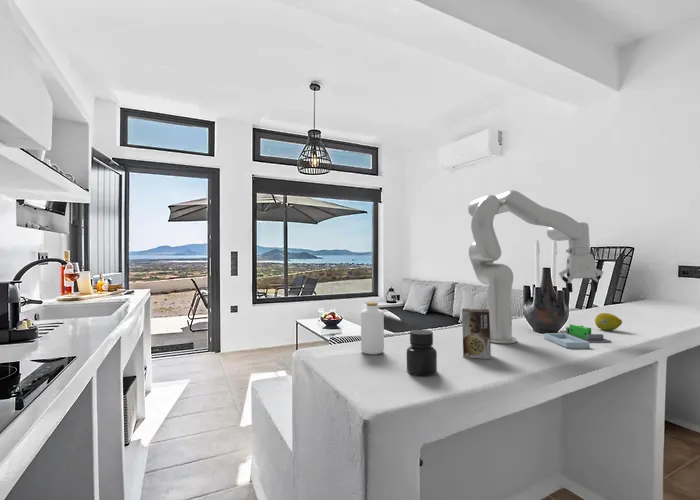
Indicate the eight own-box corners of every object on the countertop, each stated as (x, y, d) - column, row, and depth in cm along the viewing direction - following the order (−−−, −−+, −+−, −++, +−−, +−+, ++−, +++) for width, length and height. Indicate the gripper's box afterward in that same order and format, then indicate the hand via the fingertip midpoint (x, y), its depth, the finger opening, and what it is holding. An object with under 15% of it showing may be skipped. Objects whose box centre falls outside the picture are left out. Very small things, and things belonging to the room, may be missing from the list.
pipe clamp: (596, 340, 145) (596, 329, 145) (588, 340, 144) (588, 329, 144) (577, 334, 156) (577, 324, 156) (569, 334, 156) (569, 324, 156)
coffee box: (490, 354, 124) (489, 308, 124) (491, 359, 118) (490, 311, 118) (462, 352, 127) (462, 307, 127) (462, 357, 121) (461, 310, 121)
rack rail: (588, 342, 140) (588, 336, 140) (559, 332, 160) (559, 326, 160) (611, 342, 140) (611, 335, 140) (579, 331, 160) (579, 326, 160)
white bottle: (387, 350, 130) (386, 302, 131) (379, 356, 123) (378, 304, 123) (366, 348, 134) (365, 301, 134) (357, 354, 126) (357, 303, 127)
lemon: (590, 329, 166) (589, 312, 166) (601, 327, 169) (601, 311, 169) (614, 333, 156) (613, 315, 156) (625, 332, 159) (625, 314, 159)
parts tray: (566, 348, 132) (566, 342, 132) (544, 338, 147) (544, 333, 147) (589, 348, 132) (589, 342, 132) (565, 338, 147) (565, 333, 147)
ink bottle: (444, 373, 104) (443, 333, 105) (422, 379, 100) (422, 336, 100) (420, 365, 113) (420, 327, 113) (399, 370, 108) (399, 331, 108)
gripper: (562, 252, 147) (564, 293, 147) (606, 250, 146) (609, 291, 145) (553, 252, 155) (556, 291, 155) (595, 250, 153) (598, 290, 153)
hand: (581, 291), depth 150 cm, fingers open, 9 cm apart
